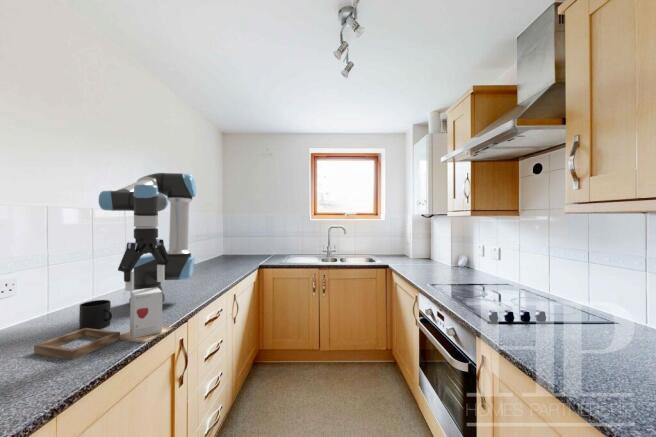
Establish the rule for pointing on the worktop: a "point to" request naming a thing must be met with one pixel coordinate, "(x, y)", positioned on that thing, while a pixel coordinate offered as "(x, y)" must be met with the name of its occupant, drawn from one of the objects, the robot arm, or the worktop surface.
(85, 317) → the mug
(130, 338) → the light wooden block
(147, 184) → the robot arm
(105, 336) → the walnut frame
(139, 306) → the supplement box
